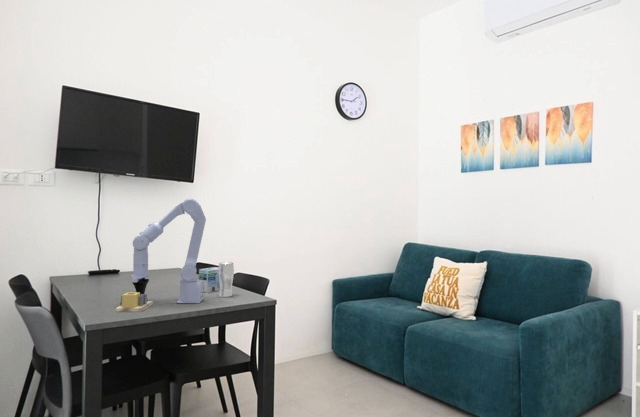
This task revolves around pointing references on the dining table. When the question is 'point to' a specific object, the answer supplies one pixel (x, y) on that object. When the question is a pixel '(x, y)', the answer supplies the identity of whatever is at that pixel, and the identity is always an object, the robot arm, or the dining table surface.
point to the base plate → (137, 309)
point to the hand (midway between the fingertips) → (140, 296)
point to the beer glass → (225, 278)
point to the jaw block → (130, 300)
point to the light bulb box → (209, 279)
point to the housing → (140, 299)
